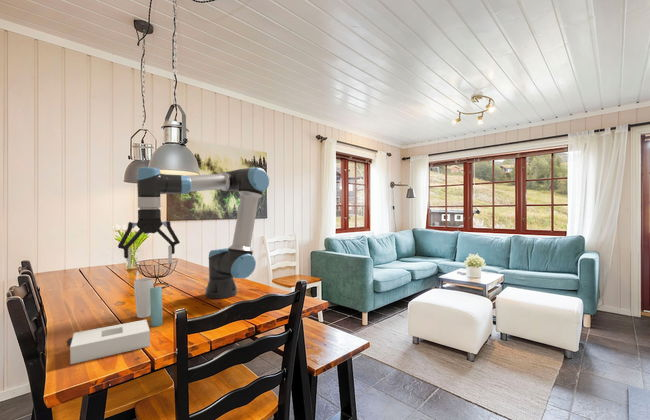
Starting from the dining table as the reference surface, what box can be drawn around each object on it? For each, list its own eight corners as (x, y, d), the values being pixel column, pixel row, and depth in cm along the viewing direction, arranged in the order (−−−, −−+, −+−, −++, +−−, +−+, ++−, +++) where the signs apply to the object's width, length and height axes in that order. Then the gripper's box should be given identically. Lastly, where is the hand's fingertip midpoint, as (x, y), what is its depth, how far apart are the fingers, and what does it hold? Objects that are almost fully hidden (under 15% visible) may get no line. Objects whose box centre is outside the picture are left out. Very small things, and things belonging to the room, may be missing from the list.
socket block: (146, 333, 111) (146, 319, 111) (150, 346, 101) (149, 330, 101) (74, 348, 100) (74, 332, 99) (70, 364, 90) (70, 347, 90)
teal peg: (161, 321, 122) (161, 286, 121) (163, 325, 118) (162, 288, 118) (150, 324, 119) (149, 287, 119) (151, 327, 116) (150, 290, 116)
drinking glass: (136, 314, 130) (136, 278, 130) (155, 312, 132) (154, 277, 132) (133, 320, 124) (132, 282, 123) (152, 317, 126) (151, 280, 126)
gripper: (182, 208, 128) (183, 259, 129) (108, 209, 114) (110, 267, 114) (186, 208, 122) (187, 262, 123) (109, 209, 108) (111, 270, 108)
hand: (150, 264), depth 119 cm, fingers open, 13 cm apart
